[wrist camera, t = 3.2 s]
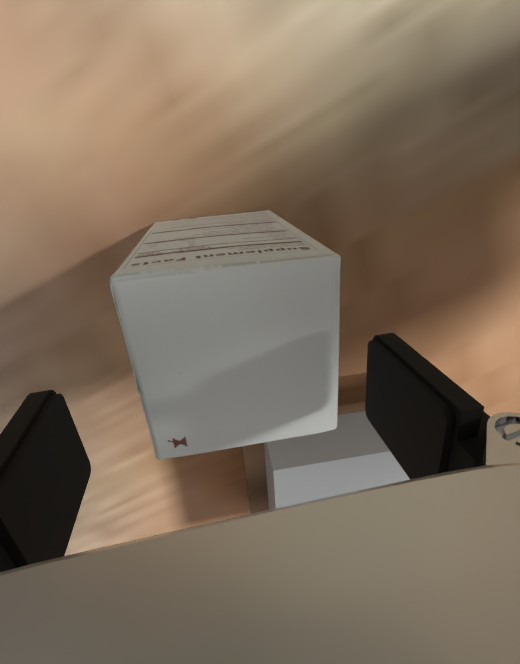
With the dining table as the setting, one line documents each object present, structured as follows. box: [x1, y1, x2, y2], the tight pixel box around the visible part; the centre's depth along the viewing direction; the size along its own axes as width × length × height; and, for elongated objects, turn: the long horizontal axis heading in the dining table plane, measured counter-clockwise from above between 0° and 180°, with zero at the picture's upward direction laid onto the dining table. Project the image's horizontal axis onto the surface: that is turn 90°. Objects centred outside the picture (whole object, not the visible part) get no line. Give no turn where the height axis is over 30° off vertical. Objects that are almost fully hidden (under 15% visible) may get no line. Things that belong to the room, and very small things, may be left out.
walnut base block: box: [242, 373, 367, 514], centre depth 30 cm, size 12×12×4 cm
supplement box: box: [110, 210, 341, 460], centre depth 18 cm, size 7×7×13 cm
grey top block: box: [264, 411, 410, 510], centre depth 26 cm, size 10×10×4 cm
